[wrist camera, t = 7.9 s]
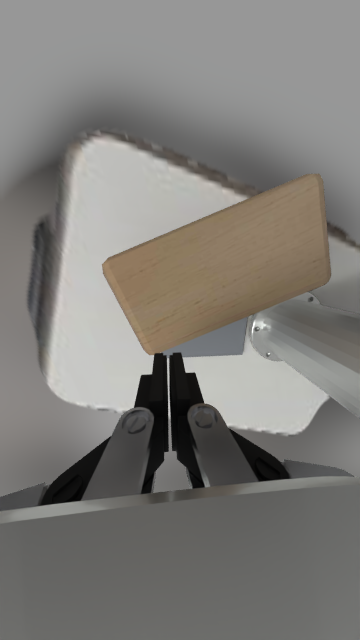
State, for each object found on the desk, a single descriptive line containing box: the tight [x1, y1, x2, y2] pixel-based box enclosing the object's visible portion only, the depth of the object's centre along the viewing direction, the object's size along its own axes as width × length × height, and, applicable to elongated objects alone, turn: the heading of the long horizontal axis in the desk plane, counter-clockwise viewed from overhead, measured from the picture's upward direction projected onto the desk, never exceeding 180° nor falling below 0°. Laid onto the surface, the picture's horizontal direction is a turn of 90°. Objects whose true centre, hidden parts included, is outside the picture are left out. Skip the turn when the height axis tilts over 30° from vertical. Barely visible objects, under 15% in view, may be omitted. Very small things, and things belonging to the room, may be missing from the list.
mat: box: [161, 317, 247, 358], centre depth 26 cm, size 14×16×1 cm
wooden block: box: [102, 174, 331, 355], centre depth 19 cm, size 10×10×20 cm
